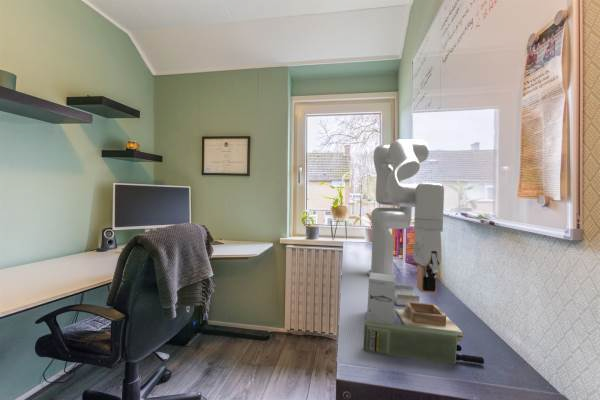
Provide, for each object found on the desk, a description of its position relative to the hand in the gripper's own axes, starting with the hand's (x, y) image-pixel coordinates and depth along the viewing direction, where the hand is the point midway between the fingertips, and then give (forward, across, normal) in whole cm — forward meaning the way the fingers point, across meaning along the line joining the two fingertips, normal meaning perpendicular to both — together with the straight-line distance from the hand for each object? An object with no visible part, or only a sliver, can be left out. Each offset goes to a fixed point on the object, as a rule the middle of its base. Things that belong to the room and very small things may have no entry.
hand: (426, 287), depth 76 cm
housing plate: (+9, -14, -2) cm, 17 cm away
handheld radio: (+10, +19, -7) cm, 23 cm away
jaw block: (+1, 0, 0) cm, 1 cm away
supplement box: (+10, +2, -13) cm, 16 cm away
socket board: (+10, +1, 0) cm, 10 cm away
